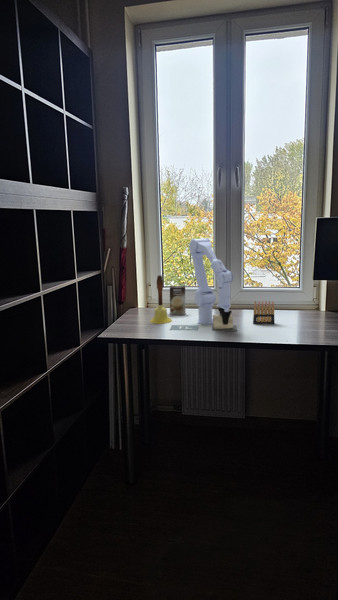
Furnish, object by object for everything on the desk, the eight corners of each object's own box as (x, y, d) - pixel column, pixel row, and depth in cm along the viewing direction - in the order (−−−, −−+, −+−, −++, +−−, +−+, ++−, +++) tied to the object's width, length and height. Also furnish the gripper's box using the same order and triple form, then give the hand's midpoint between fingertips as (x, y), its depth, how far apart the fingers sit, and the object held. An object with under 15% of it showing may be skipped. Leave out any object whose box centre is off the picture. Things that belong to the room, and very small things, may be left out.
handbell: (164, 325, 214) (162, 277, 210) (145, 322, 221) (143, 276, 216) (176, 320, 225) (175, 274, 220) (158, 317, 231) (156, 273, 227)
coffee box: (169, 315, 237) (169, 287, 234) (169, 312, 244) (169, 285, 241) (185, 314, 237) (185, 287, 234) (185, 312, 243) (185, 285, 240)
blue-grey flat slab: (171, 325, 214) (171, 325, 214) (198, 325, 212) (198, 325, 212) (169, 330, 204) (169, 330, 204) (197, 330, 202) (197, 330, 202)
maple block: (213, 326, 208) (212, 315, 206) (231, 325, 208) (230, 313, 206) (214, 329, 203) (214, 317, 201) (232, 328, 203) (232, 316, 202)
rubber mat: (212, 325, 211) (212, 325, 211) (236, 326, 209) (236, 325, 209) (212, 331, 201) (212, 330, 201) (237, 331, 200) (237, 330, 199)
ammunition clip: (273, 323, 213) (274, 300, 211) (274, 324, 211) (275, 301, 209) (252, 323, 214) (253, 300, 212) (253, 324, 212) (253, 301, 210)
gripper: (214, 293, 209) (214, 319, 212) (218, 299, 195) (218, 326, 198) (228, 293, 209) (228, 319, 212) (233, 298, 195) (233, 326, 198)
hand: (224, 323), depth 205 cm, fingers closed on maple block, 5 cm apart
